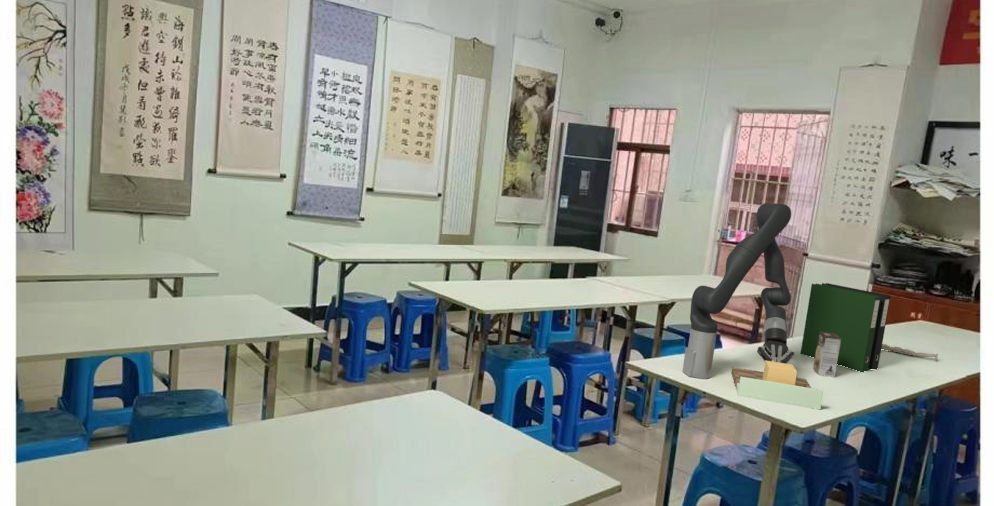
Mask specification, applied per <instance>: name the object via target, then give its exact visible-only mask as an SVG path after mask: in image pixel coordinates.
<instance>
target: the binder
mask: <svg viewBox="0 0 994 506" xmlns="http://www.w3.org/2000/svg"><path fill="white" fill-rule="evenodd" d="M810 286H811V287H810V292H809V299H808V305H807V312H806V315H805V316H806V318H805V324H804V329H803V336H802V342H801V347H800V348H801V349H800V355H802V354H804V355H803V356H805V355H807V356H806V357H809V356H811V357H810V358H812V357H814V358H813V359H815V353H816V347H817V341H818V335H819V332H828V333H835V334H836V335H838V336H839V337H840V338H841V343H840V349H839V355H838V360H837V364H838V365H842V366H845V367H848V368H851V369H850V370H852V369H854V370H853V371H855V370H857V371H856V372H858V371H860V372H859V373H861V372H863V373H865V372H864V371H867V372H869V369H876V370H878V369H879V364H880V358H881V353H882V351H881V348H882V344H883V341H884V336H885V330H886V325H887V321H888V320H887V319H888V313H889V309H890V301H891V297H892V296H891V294H884V293H879V292H875V291H874V292H873V291H870V290H869V291H868V290H864V289H858V288H854V287H848V286H844V285H838V284H833V283H828V282H826V283H824V282H822V283H821V284H820V283H811V285H810ZM838 365H837V366H838ZM842 366H841V367H842ZM845 367H844V368H845ZM848 368H847V369H848ZM877 368H878V369H877Z"/></svg>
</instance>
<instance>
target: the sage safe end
mask: <svg viewBox="0 0 994 506" xmlns="http://www.w3.org/2000/svg"><path fill="white" fill-rule="evenodd" d="M735 390H736V394H737V396H739V397H744V398H748V399H750V398H751V399H756V400H761V401H766V402H774V403H777V404H783V403H784V405H789V404H792V405H791V406H795V405H797V406H796V407H802V408H807V409H812V408H814V410H818V409H820V410H821V407H822V401H823V395H824V390H822V389H818V388H812V387H811V388H807V387H801V386H795V385H789V384H783V383H777V382H771V381H765V380H759V379H753V378H746V377H740V382H739V383H737V387H736V388H735Z"/></svg>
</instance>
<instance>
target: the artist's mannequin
mask: <svg viewBox="0 0 994 506" xmlns="http://www.w3.org/2000/svg"><path fill="white" fill-rule="evenodd" d="M881 349H884V350H890V351H894V352H898V353H897V354H902V353H903V354H905V355H907V354H908V355H907V356H911V355H913V356H912V357H917V356H918V357H919V358H934V362H935V361H937V362H938V356H939V354H938V353H927V352H915V351H914V350H911V349H907V348H902V347H899V346H890V345H888V344H885V343H882V348H881ZM890 351H889V352H890ZM894 352H893V353H894ZM918 357H917V358H918Z"/></svg>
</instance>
